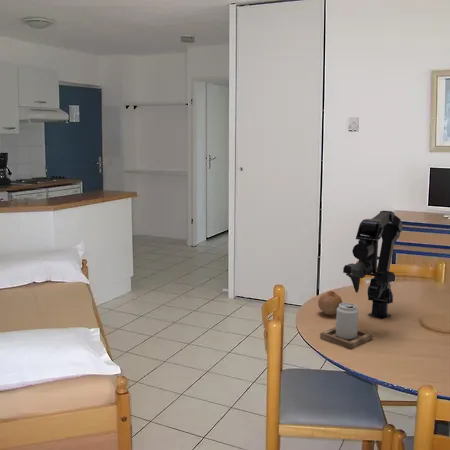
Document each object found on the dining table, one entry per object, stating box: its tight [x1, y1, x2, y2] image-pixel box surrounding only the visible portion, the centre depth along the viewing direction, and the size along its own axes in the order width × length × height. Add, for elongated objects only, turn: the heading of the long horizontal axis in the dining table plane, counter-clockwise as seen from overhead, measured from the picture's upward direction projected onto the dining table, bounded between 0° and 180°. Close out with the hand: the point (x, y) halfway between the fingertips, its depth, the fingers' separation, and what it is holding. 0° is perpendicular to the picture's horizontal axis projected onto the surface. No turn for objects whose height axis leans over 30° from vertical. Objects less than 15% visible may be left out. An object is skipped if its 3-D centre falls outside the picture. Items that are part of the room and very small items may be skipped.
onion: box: [317, 290, 343, 316], centre depth 217 cm, size 10×9×10 cm
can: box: [335, 302, 359, 340], centre depth 193 cm, size 8×8×12 cm
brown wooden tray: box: [319, 326, 373, 350], centre depth 194 cm, size 13×13×2 cm
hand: (367, 295), depth 201 cm, fingers open, 9 cm apart
